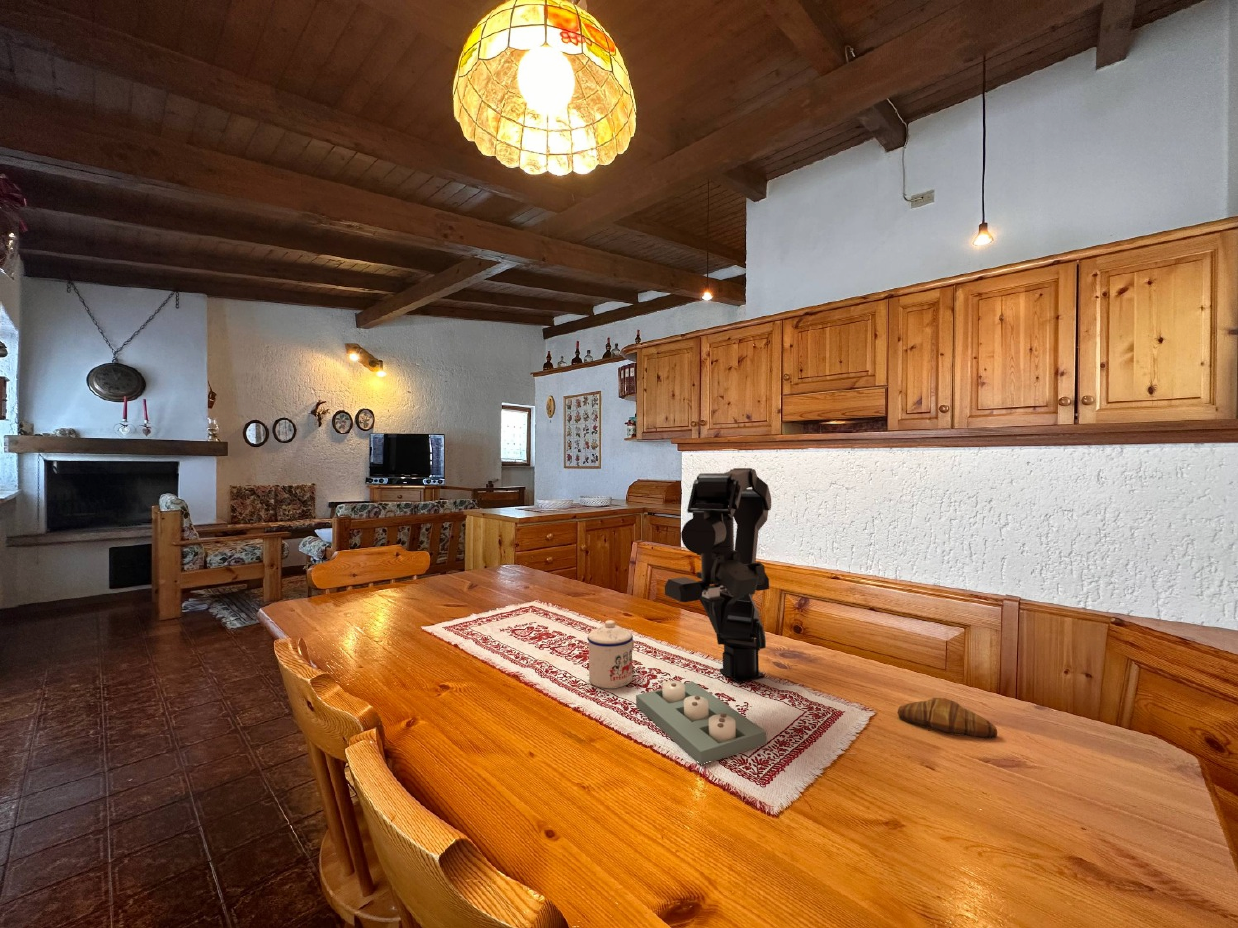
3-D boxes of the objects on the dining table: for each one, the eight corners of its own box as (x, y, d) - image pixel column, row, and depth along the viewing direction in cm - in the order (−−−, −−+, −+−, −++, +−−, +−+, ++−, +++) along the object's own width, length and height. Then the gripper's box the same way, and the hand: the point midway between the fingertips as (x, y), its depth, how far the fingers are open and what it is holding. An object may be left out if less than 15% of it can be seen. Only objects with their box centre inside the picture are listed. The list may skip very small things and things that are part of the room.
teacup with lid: (615, 693, 96) (614, 631, 96) (578, 682, 102) (577, 623, 102) (650, 672, 106) (649, 615, 106) (615, 662, 111) (614, 608, 111)
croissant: (994, 729, 82) (994, 698, 82) (1000, 750, 76) (1000, 717, 76) (898, 710, 89) (898, 681, 89) (896, 728, 83) (896, 697, 83)
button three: (724, 732, 81) (724, 710, 81) (741, 744, 78) (740, 722, 78) (703, 738, 80) (703, 716, 79) (719, 751, 76) (719, 728, 76)
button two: (699, 712, 88) (699, 692, 88) (713, 723, 84) (713, 702, 84) (679, 718, 86) (679, 697, 86) (692, 729, 82) (692, 707, 82)
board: (693, 692, 96) (692, 681, 96) (766, 744, 78) (766, 731, 78) (636, 706, 91) (636, 694, 91) (700, 765, 73) (700, 751, 73)
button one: (677, 696, 94) (677, 677, 94) (689, 705, 90) (689, 686, 90) (658, 701, 92) (658, 682, 92) (670, 710, 89) (669, 691, 89)
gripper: (699, 556, 79) (700, 658, 79) (791, 546, 87) (792, 638, 87) (662, 546, 89) (663, 636, 89) (747, 538, 97) (749, 620, 97)
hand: (718, 633), depth 91 cm, fingers closed
